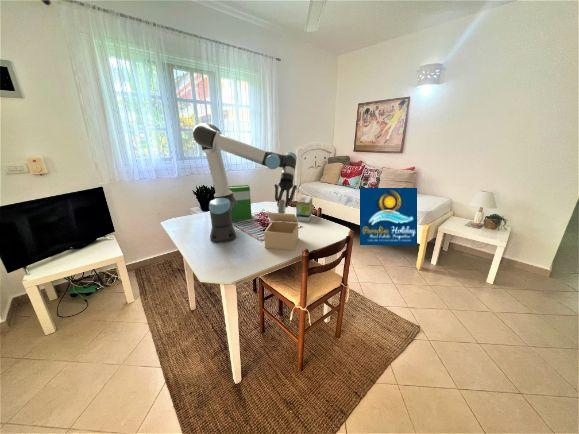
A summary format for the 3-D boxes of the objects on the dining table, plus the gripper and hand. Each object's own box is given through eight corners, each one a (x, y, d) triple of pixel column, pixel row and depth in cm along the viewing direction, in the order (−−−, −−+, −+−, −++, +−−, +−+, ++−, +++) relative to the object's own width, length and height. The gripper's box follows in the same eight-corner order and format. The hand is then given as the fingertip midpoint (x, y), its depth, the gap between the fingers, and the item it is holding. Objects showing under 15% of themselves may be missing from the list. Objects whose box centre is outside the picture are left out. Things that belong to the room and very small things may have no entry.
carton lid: (264, 213, 120) (267, 198, 123) (272, 221, 136) (273, 207, 138) (294, 215, 117) (296, 199, 120) (298, 222, 133) (299, 208, 135)
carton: (264, 247, 124) (264, 231, 121) (272, 235, 139) (272, 221, 136) (293, 250, 121) (293, 234, 118) (298, 237, 136) (298, 223, 133)
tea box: (309, 222, 161) (310, 202, 156) (295, 221, 163) (295, 201, 158) (311, 215, 175) (312, 196, 170) (299, 214, 177) (299, 196, 172)
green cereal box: (250, 215, 175) (248, 184, 167) (251, 218, 169) (249, 186, 161) (226, 217, 170) (223, 186, 162) (227, 221, 164) (224, 188, 156)
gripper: (300, 180, 134) (295, 215, 125) (276, 179, 137) (269, 214, 128) (299, 172, 128) (294, 209, 118) (273, 172, 131) (266, 208, 121)
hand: (281, 211), depth 123 cm, fingers closed on carton lid, 2 cm apart
